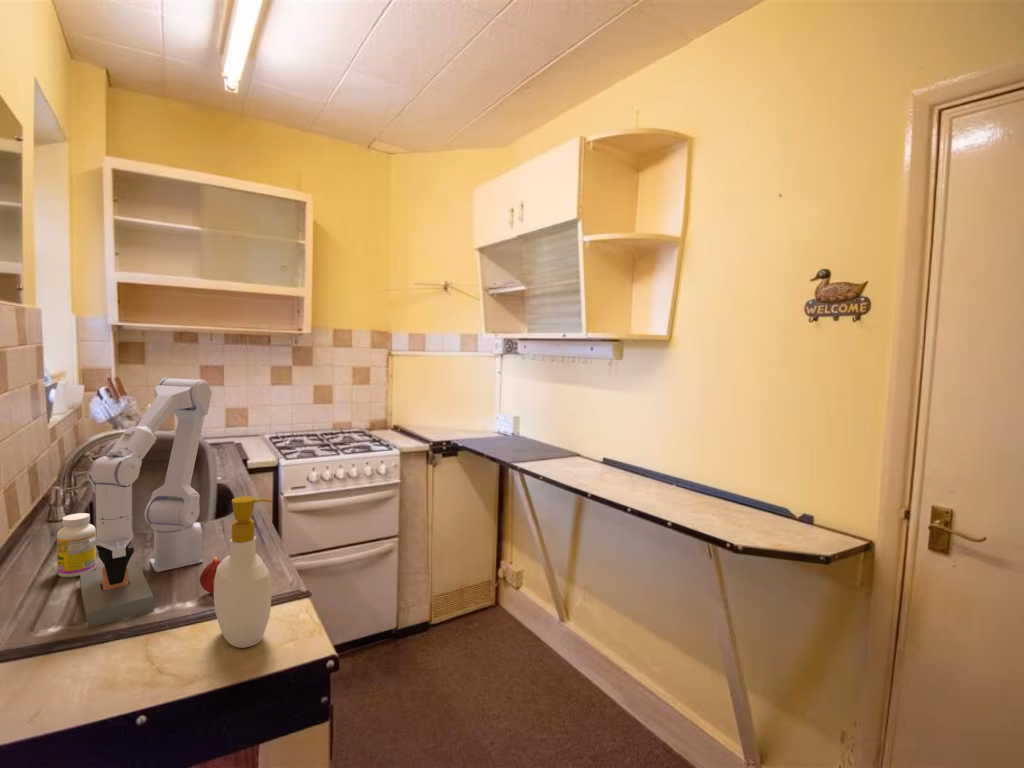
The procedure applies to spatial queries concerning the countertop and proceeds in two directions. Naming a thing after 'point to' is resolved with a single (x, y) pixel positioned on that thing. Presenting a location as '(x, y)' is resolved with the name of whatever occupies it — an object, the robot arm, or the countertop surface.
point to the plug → (107, 586)
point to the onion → (209, 575)
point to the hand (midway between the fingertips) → (115, 579)
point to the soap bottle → (242, 582)
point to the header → (115, 596)
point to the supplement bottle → (76, 546)
